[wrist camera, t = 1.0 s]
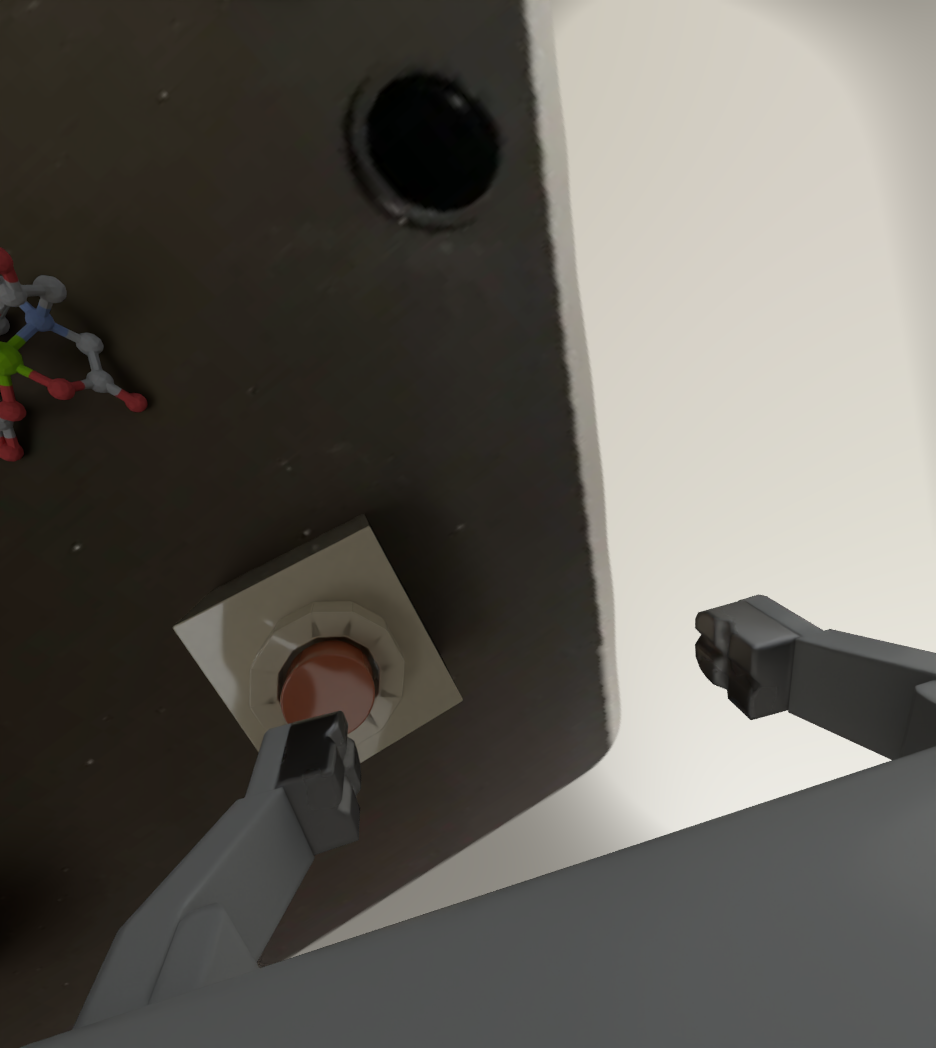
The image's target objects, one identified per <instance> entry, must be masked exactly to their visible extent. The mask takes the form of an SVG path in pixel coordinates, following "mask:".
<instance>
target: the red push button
mask: <svg viewBox="0 0 936 1048" xmlns="http://www.w3.org/2000/svg"><path fill="white" fill-rule="evenodd" d="M374 700H375V684H374V677H373V670H372V666H371V663H370V661H369V659H368V658H367V656H366V655H365V654H364V653H363V652H362V651H361V650H360V649H359V648H357V647H356V646H354V645H352V644H350V643H347V642H343V641H337V640H330V641H323V642H319V643H316V644H313V645H311V646H309V647H307V648H306V649H304V650H303V651H302V652H300V653H299V654H298V655H297V656H296V657H295V658H294V660H293V661H292V663H291V664H290V666H289V668H288V671H287V673H286V677H285V680H284V684H283V687H282V691H281V697H280V706H281V711H282V714H283V716H284V718H285V720H286V722H287V723H288V724H290V723H293V722H296V721H300V720H304V719H308V718H312V717H316V716H320V715H324V714H328V713H332V712H336V711H342V712H343V713H344V715H345V717H346V720H347V722H348V734H349V733H351V732H352V731H354V730H355V729H357V728H358V727H359V726H360V725H361V724H362V723H363V722H364V721H365V719H366V718H367V717H368V715H369V713H370V712H371V710H372V707H373V704H374Z"/></svg>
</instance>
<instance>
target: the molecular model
mask: <svg viewBox="0 0 936 1048" xmlns="http://www.w3.org/2000/svg"><path fill="white" fill-rule="evenodd" d="M0 274H2V276H0V335H3V334H6V333H7V332H8V331H9V328H10V324H9V321H8V320H7V319H6V317H5V316H6V314H7V312H8V310H9V308H10V306H13V307H17V306H19V307H20V308H21V309H22V310H23V311H24V312H25V313H26V314H25V320H26V322H27V324H26V325H25V326H24V327H23V328H22V329H21V330H20V331H19V332H18V333H17V334H16V335H14V336H13V337H12V338H11V339H10V340H9V341H8V342H7V343H6V342H1V341H0V390H1V395H2V399H3V401H2V402H0V458H2V459H4V460H7V461H16V460H19V459H21V458H22V457H23V455H24V451H23V448H22V447H21V446H20V445H19V443H18V440H17V438H16V435H15V432H14V429H13V427H12V426H13V423H14V421H20V420H22V419H23V418H24V417H25V416H26V410H25V408H24V406H23V405H22V404H21V403H19V402H17V401H16V400H15V395H14V391H13V386H12V381H11V376H10V375H12V374H15V373H17V372H18V373H20V374H22V375H24V376H26V377H28V378H30V379H32V380H34V381H36V382H38V383H40V384H42V385H44V386H46V387H47V389H48V391H49V393H50V394H51V395H52V396H53V397H54V398H57V399H60V400H69V399H71V398H72V397H73V396H74V395H75V391H80V390H85V389H90V388H91V389H93V390H94V391H96V392H100V393H107V392H109V393H110V394H112V395H114V396H116V397H118V398H119V399H121V400H123V401H125V404H126V406H127V407H128V408H129V409H130V410H131V411H133V412H141V411H144V410H145V409H146V408H147V400H146V398H145V397H144V396H142V395H141V394H138V393H128V392H126V391H125V390H123V389H121V388H119V387H118V386H116V385H114V381H113V378H112V377H111V375H109V374H108V373H106V372H105V371H103V370H102V367H101V363H100V359H99V356H98V354H99V353H101V352H102V351H103V347H104V346H103V343H102V341H101V339H100V338H98V337H97V336H96V335H95V334H91V333H87V332H86V333H81V334H77V333H75V332H73V331H71V330H69V329H67V328H65V327H63V326H61V325H58V324H56V323H54V320H53V318H52V316H51V315H50V314H49V313H50V310H51V307H52V305H53V303H58V302H62V301H63V300H64V299H65V298H66V294H67V292H66V288H65V285H63V284H62V283H61V282H60V281H59V280H58V279H56V278H55V277H52V276H45V275H41V276H39V277H37V278H36V279H35V281H34V282H33V285H21V284H20V283H19V280H18V278H17V275H16V273H15V270H14V268H13V260H12V258H11V256H10V255H9V254H8V253H7V252H6V251H5V250H4V249H2V248H1V247H0ZM29 296H40V297H41V298H40V301H39V303H38V306H37V309H35V308H34V307H33V306H32V305H30V304H29V303H28V302H27V301H26V300H27V297H29ZM50 330H51V331H53V332H55V333H57V334H59V335H61V336H63V337H66V338H68V339H70V340H72V341H74V342H76V346H77V347H78V349H79V350H80V351H81V352H83V353H84V354H86V355H88V359H89V363H90V367H91V372H89V373H88V374H87V377H86V380H81V381H76V382H69V381H67V380H65V379H61V378H56V379H53V380H52V379H50V378H48V377H46V376H44V375H42V374H40V373H38V372H36V371H34V370H32V369H30V368H28V367H26V366H24V365H23V360H22V356H21V354H20V353H19V352H18V350H19V349H20V348H21V347H22V346H23V345H24V344H25V343H26V342H27V341H28V340H29V339H30V338H31V337H32V336H33V335H34V334H35V333H36V332H37V331H41V332H45V331H50ZM2 431H3V433H2ZM3 434H4V436H3ZM4 437H5V438H4ZM5 439H6V441H5Z"/></svg>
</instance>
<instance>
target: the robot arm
mask: <svg viewBox="0 0 936 1048" xmlns="http://www.w3.org/2000/svg"><path fill="white" fill-rule="evenodd" d="M695 628H696V629H697V630H698V631H699V632H700V633H701V636H700V638H699V639H698V641H697V642H696V644H695V649H696V659H697V661H698V664H699V667H700V669H701V670H702V672H703V673H704V675H705V676H706V677H707V678H708V679H709V680H710V681H711V682H712V683H713V684H714V685H716V686H720V687H722V688H725V689H727V693H728V699H729V700H730V701H731V702H732V703H733V704H734V705H736V707H738V708H739V709H740V710H741V711H742V712H743V713H744V714H745V715H746V716H747V717H748V718H749V719H750V720H753V719H757V718H760V717H764V716H768V715H772V714H775V713H779V712H783V711H786V710H788V712H789V713H792V714H793V715H796V716H798V717H800V718H802V719H804V720H806V721H809V722H811V723H813V724H815V725H817V726H819V727H822V728H824V729H826V730H828V731H831V732H833V733H835V734H837V735H839V736H841V737H843V738H846V739H848V740H850V741H852V742H854V743H856V744H859V745H861V746H863V747H865V748H867V749H869V750H872V751H874V752H876V753H878V754H880V755H882V756H885V757H887V758H889V759H891V760H892V761H889V762H886V763H883V764H880V765H877V766H874V767H871V768H868V769H865V770H862V771H859V772H856V773H852V774H850V775H846V776H844V777H840V778H837V779H834V780H831V781H828V782H825V783H822V784H819V785H816V786H813V787H810V788H807V789H804V790H801V791H798V792H795V793H792V794H788V795H785V796H783V797H779V798H776V799H773V800H770V801H767V802H764V803H761V804H758V805H755V806H752V807H749V808H746V809H743V810H740V811H737V812H734V813H731V814H728V815H725V816H722V817H719V818H716V819H712V820H709V821H706V822H704V823H700V824H697V825H695V826H691V827H688V828H685V829H682V830H679V831H676V832H673V833H670V834H667V835H664V836H661V837H658V838H655V839H652V840H649V841H646V842H643V843H640V844H637V845H633V846H630V847H627V848H624V849H621V850H618V851H615V852H612V853H609V854H607V855H603V856H600V857H597V858H594V859H591V860H588V861H585V862H582V863H579V864H576V865H573V866H570V867H567V868H564V869H561V870H558V871H555V872H551V873H548V874H545V875H542V876H539V877H536V878H533V879H530V880H527V881H524V882H521V883H518V884H515V885H512V886H509V887H506V888H503V889H500V890H496V891H493V892H490V893H487V894H485V895H482V896H478V897H475V898H472V899H469V900H466V901H463V902H460V903H457V904H454V905H451V906H448V907H445V908H442V909H439V910H435V911H433V912H429V913H426V914H423V915H420V916H417V917H414V918H411V919H408V920H405V921H402V922H399V923H396V924H393V925H390V926H387V927H384V928H381V929H378V930H375V931H372V932H369V933H366V934H363V935H360V936H356V937H353V938H350V939H348V940H344V941H341V942H338V943H335V944H332V945H329V946H326V947H323V948H320V949H317V950H314V951H311V952H308V953H305V954H302V955H299V956H296V957H293V958H290V959H287V960H284V961H280V962H277V963H274V964H271V965H268V966H265V967H262V968H259V966H258V965H257V961H258V960H259V958H260V956H261V954H262V952H263V950H264V949H265V947H266V945H267V943H268V941H269V940H270V938H271V936H272V934H273V932H274V931H275V929H276V927H277V925H278V923H279V922H280V920H281V918H282V916H283V914H284V913H285V911H286V909H287V907H288V905H289V904H290V902H291V900H292V898H293V896H294V895H295V893H296V891H297V889H298V887H299V885H300V884H301V882H302V880H303V878H304V876H305V875H306V873H307V871H308V869H309V867H310V866H311V864H312V862H313V860H314V858H315V857H314V855H316V854H319V853H322V852H325V851H328V850H331V849H334V848H337V847H340V846H343V845H346V844H349V843H352V842H355V841H358V840H359V821H360V807H359V804H358V801H357V798H356V795H357V793H358V792H359V790H360V789H361V768H360V759H359V755H358V751H357V747H356V745H355V742H354V740H352V739H351V738H349V737H347V736H348V722H347V720H346V717H345V715H344V713H343V712H342V711H336V712H332V713H328V714H324V715H320V716H316V717H312V718H308V719H304V720H300V721H296V722H293V723H290V724H286V725H282V726H278V727H274V728H270V729H269V730H268V731H267V732H266V733H265V734H264V737H263V740H262V743H261V747H260V750H259V753H258V756H257V759H256V763H255V766H254V769H253V772H252V776H251V779H250V782H249V785H248V788H247V792H246V795H245V798H242V799H239V800H236V802H235V803H234V804H233V805H232V806H231V807H230V808H229V809H228V810H227V811H226V813H225V814H224V815H223V816H222V817H221V818H220V819H219V820H218V821H217V822H216V824H215V825H214V826H213V827H212V828H211V829H210V830H209V831H208V832H207V833H206V834H205V836H204V837H203V838H202V839H201V840H200V841H199V842H198V843H197V844H196V845H195V847H194V848H193V849H192V850H191V851H190V852H189V853H188V854H187V855H186V856H185V858H184V859H183V860H182V861H181V862H180V863H179V864H178V865H177V866H176V867H175V868H174V870H173V871H172V872H171V873H170V874H169V875H168V876H167V877H166V878H165V879H164V881H163V882H162V883H161V884H160V885H159V886H158V887H157V888H156V889H155V890H154V892H153V893H152V894H151V895H150V896H149V897H148V898H147V899H146V900H145V901H144V902H143V904H142V905H141V906H140V907H139V908H138V909H137V910H136V911H135V912H134V913H133V915H132V916H131V917H130V918H129V919H128V920H127V921H126V922H125V923H124V924H123V925H122V927H121V928H120V929H119V930H118V932H117V934H116V936H115V938H114V940H113V942H112V945H111V947H110V949H109V951H108V953H107V955H106V958H105V960H104V962H103V964H102V966H101V968H100V971H99V973H98V975H97V977H96V979H95V981H94V984H93V986H92V988H91V990H90V992H89V994H88V997H87V999H86V1001H85V1003H84V1005H83V1007H82V1010H81V1012H80V1014H79V1016H78V1018H77V1020H76V1023H75V1025H74V1027H73V1029H72V1030H71V1031H68V1032H65V1033H62V1034H59V1035H56V1036H53V1037H50V1038H47V1039H44V1040H41V1041H37V1042H34V1043H31V1044H28V1045H25V1046H22V1047H19V1048H936V653H933V652H929V651H924V650H919V649H915V648H911V647H907V646H902V645H897V644H894V643H889V642H885V641H880V640H875V639H871V638H867V637H863V636H858V635H854V634H850V633H845V632H841V631H836V630H832V629H829V630H825V631H823V630H822V629H820V628H818V627H816V626H815V625H813V624H811V623H810V622H808V621H807V620H805V619H803V618H802V617H800V616H798V615H796V614H795V613H793V612H791V611H790V610H788V609H786V608H785V607H783V606H782V605H780V604H778V603H777V602H775V601H773V600H771V599H770V598H768V597H767V596H763V595H756V596H752V597H749V598H746V599H743V600H739V601H738V602H734V603H731V604H727V605H724V606H720V607H716V608H713V609H709V610H706V611H702V612H699V613H698V614H697V616H696V619H695Z"/></svg>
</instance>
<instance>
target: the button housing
mask: <svg viewBox="0 0 936 1048" xmlns="http://www.w3.org/2000/svg"><path fill="white" fill-rule="evenodd" d="M173 629H174V631H175V632H176V634H177V635H178V636H179V638H180V639H181V641H182V642H183V644H184V645H185V647H186V648H187V649H188V651H189V652H190V654H191V655H192V657H193V658H194V660H195V661H196V662H197V664H198V665H199V667H200V668H201V670H202V671H203V673H204V674H205V675H206V677H207V678H208V680H209V681H210V683H211V684H212V686H213V687H214V688H215V690H216V691H217V693H218V694H219V696H220V697H221V698H222V700H223V701H224V703H225V704H226V706H227V707H228V709H229V710H230V711H231V713H232V714H233V716H234V717H235V719H236V720H237V722H238V723H239V724H240V726H241V727H242V729H243V730H244V732H245V733H246V735H247V736H248V737H249V739H250V740H251V742H252V743H253V745H254V746H255V748H256V749H257V750H258V752H259V750H260V747H261V743H262V740H263V737H264V734H265V733H266V732H267V731H268V730H269V729H270V728H274V727H278V726H282V725H286V724H288V723H287V722H286V720H285V718H284V716H283V714H282V711H281V706H280V697H281V691H282V687H283V684H284V680H285V677H286V673H287V671H288V668H289V666H290V664H291V663H292V661H293V660H294V658H295V657H296V656H297V655H298V654H299V653H300V652H302V651H303V650H304V649H306V648H307V647H309V646H311V645H313V644H316V643H319V642H323V641H330V640H337V641H343V642H347V643H350V644H352V645H354V646H356V647H357V648H359V649H360V650H361V651H362V652H363V653H364V654H365V655H366V656H367V658H368V659H369V661H370V663H371V666H372V670H373V677H374V684H375V700H374V704H373V707H372V710H371V712H370V713H369V715H368V717H367V718H366V719H365V721H364V722H363V723H362V724H361V725H360V726H359V727H358V728H357V729H355V730H354V731H352V732H351V733H349V734H348V736H347V737H349V738H351V739H352V740H354V742H355V745H356V747H357V751H358V755H359V759H360V763H362V762H363V761H365V760H366V759H368V758H370V757H371V756H373V755H375V754H376V753H378V752H380V751H381V750H383V749H384V748H386V747H388V746H389V745H391V744H393V743H394V742H396V741H398V740H399V739H401V738H402V737H404V736H406V735H407V734H409V733H411V732H412V731H414V730H416V729H417V728H419V727H420V726H422V725H424V724H425V723H427V722H429V721H430V720H432V719H434V718H435V717H437V716H438V715H440V714H442V713H443V712H445V711H447V710H448V709H450V708H452V707H453V706H455V705H456V704H458V703H460V702H461V701H463V698H462V696H461V694H460V692H459V690H458V688H457V686H456V684H455V682H454V680H453V678H452V676H451V674H450V672H449V670H448V668H447V666H446V664H445V662H444V660H443V658H442V656H441V654H440V653H439V651H438V649H437V647H436V645H435V643H434V641H433V640H432V638H431V636H430V634H429V632H428V630H427V628H426V627H425V625H424V623H423V621H422V619H421V617H420V615H419V614H418V612H417V610H416V608H415V606H414V604H413V602H412V601H411V599H410V597H409V595H408V593H407V591H406V589H405V588H404V586H403V584H402V582H401V580H400V578H399V577H398V575H397V573H396V571H395V569H394V567H393V565H392V564H391V562H390V560H389V558H388V556H387V554H386V552H385V551H384V549H383V547H382V545H381V543H380V541H379V539H378V538H377V536H376V534H375V532H374V530H373V528H372V526H371V525H370V523H369V521H368V519H367V517H366V515H365V514H362V515H360V516H358V517H356V518H354V519H352V520H350V521H348V522H346V523H344V524H342V525H340V526H338V527H336V528H334V529H332V530H330V531H328V532H326V533H324V534H322V535H320V536H318V537H316V538H314V539H312V540H310V541H308V542H306V543H305V544H303V545H301V546H299V547H297V548H295V549H293V550H291V551H289V552H287V553H285V554H283V555H281V556H279V557H277V558H275V559H273V560H271V561H269V562H267V563H265V564H263V565H261V566H259V567H257V568H255V569H253V570H251V571H249V572H247V573H245V574H243V575H241V576H240V577H238V578H236V579H234V580H232V581H230V582H228V583H226V584H224V585H222V586H220V587H218V588H216V589H214V590H212V591H210V592H209V593H208V594H207V595H206V596H205V597H204V598H203V599H202V600H201V601H200V602H199V603H198V604H197V605H195V606H194V607H193V608H192V609H191V610H190V611H189V612H188V613H187V614H186V615H185V616H184V617H183V618H182V619H181V620H180V621H178V622H177V623H176V624H175V625H174V626H173Z"/></svg>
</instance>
